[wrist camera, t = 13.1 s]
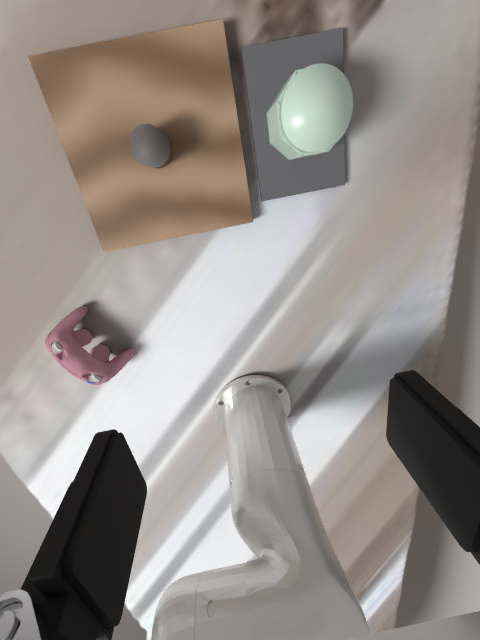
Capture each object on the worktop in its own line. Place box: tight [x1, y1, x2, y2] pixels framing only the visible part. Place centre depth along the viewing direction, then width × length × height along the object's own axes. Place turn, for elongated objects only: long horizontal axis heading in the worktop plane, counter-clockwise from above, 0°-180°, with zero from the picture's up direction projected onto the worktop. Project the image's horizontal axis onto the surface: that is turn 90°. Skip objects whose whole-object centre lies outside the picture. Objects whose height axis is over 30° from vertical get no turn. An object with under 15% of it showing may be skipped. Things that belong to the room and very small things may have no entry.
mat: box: [241, 28, 345, 201], centre depth 31 cm, size 14×10×1 cm
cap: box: [267, 63, 353, 160], centre depth 28 cm, size 7×7×6 cm
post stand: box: [28, 19, 253, 252], centre depth 29 cm, size 18×18×6 cm
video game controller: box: [45, 306, 134, 385], centre depth 38 cm, size 10×5×7 cm, turn 36°
